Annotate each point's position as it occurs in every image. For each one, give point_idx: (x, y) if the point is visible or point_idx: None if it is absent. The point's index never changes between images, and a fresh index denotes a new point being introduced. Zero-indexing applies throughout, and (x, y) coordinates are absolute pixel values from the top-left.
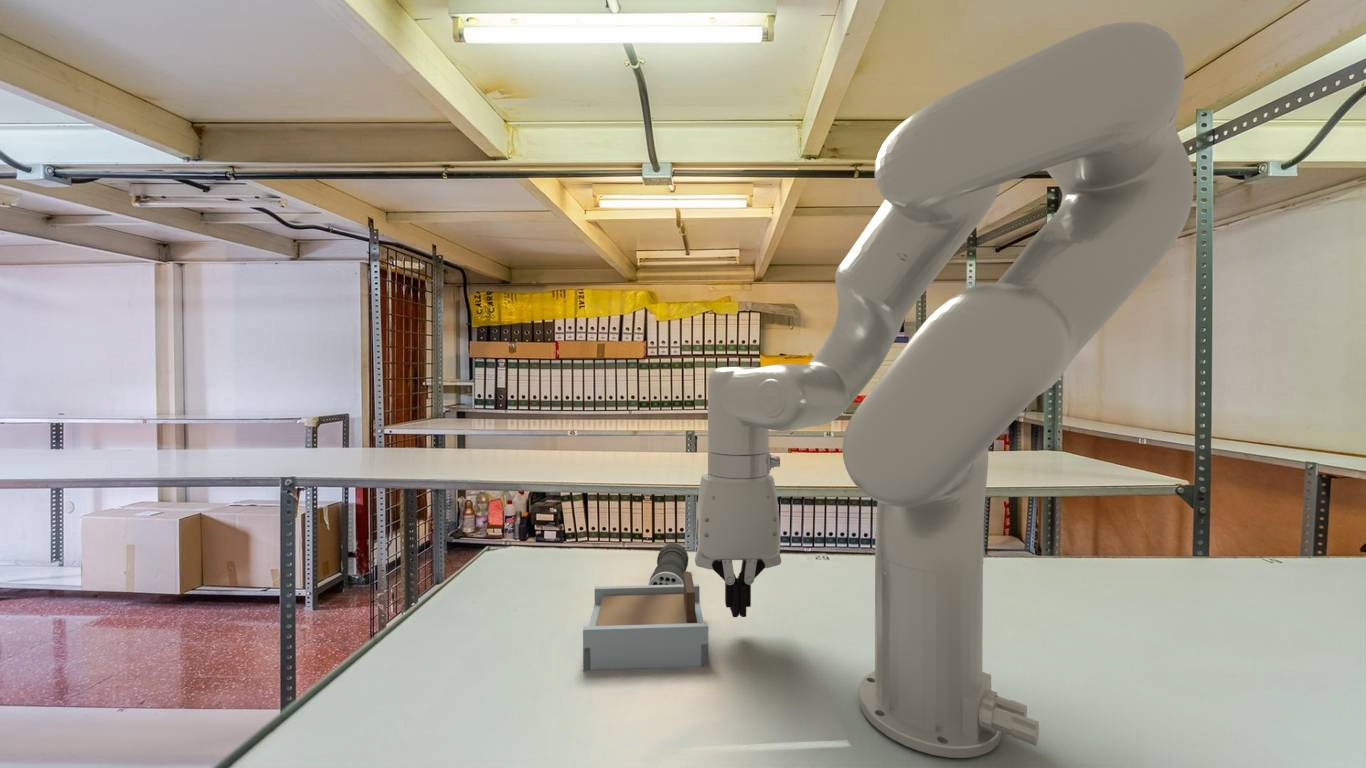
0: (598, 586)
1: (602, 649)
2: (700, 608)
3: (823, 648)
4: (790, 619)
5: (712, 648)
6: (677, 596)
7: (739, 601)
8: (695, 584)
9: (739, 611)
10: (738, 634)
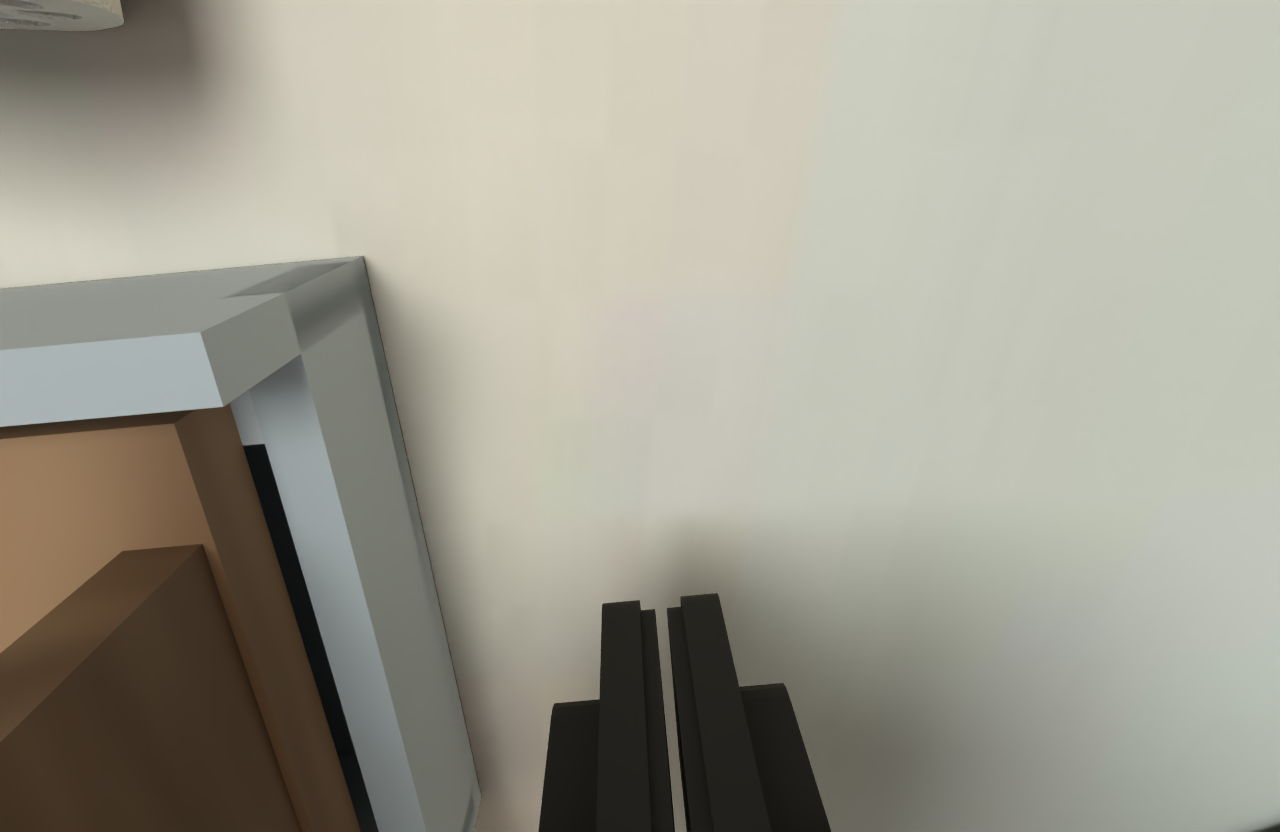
0: None
1: None
2: (336, 502)
3: (1159, 590)
4: (1117, 209)
5: (494, 615)
6: (35, 500)
7: (686, 817)
8: (156, 348)
9: (678, 743)
10: (667, 452)
